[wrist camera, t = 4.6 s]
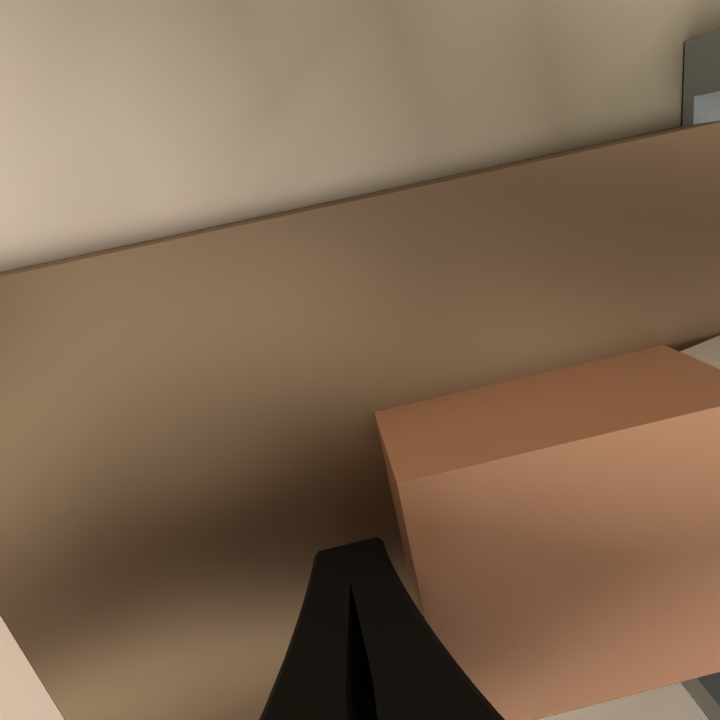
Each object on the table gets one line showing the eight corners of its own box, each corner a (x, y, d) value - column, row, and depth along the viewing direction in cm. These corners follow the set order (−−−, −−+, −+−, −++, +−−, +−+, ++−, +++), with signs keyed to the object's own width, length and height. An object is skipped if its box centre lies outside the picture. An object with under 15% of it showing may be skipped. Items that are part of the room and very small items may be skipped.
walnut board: (666, 627, 15) (704, 673, 14) (143, 757, 14) (125, 819, 13) (682, 126, 10) (744, 116, 9) (-112, 297, 10) (-184, 316, 8)
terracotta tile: (659, 571, 12) (745, 665, 10) (420, 631, 12) (450, 741, 10) (662, 344, 10) (773, 392, 8) (374, 412, 10) (396, 483, 7)
